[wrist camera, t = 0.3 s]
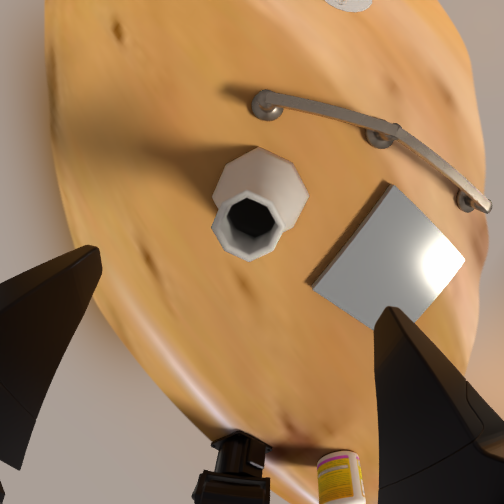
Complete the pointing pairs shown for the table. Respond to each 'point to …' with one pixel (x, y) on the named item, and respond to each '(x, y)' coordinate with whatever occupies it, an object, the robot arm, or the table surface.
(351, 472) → the supplement bottle
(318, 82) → the table surface
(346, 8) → the wineglass
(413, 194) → the table surface
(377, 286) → the slate coaster
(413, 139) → the bent rail
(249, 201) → the flask
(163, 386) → the table surface
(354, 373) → the table surface
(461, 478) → the robot arm
